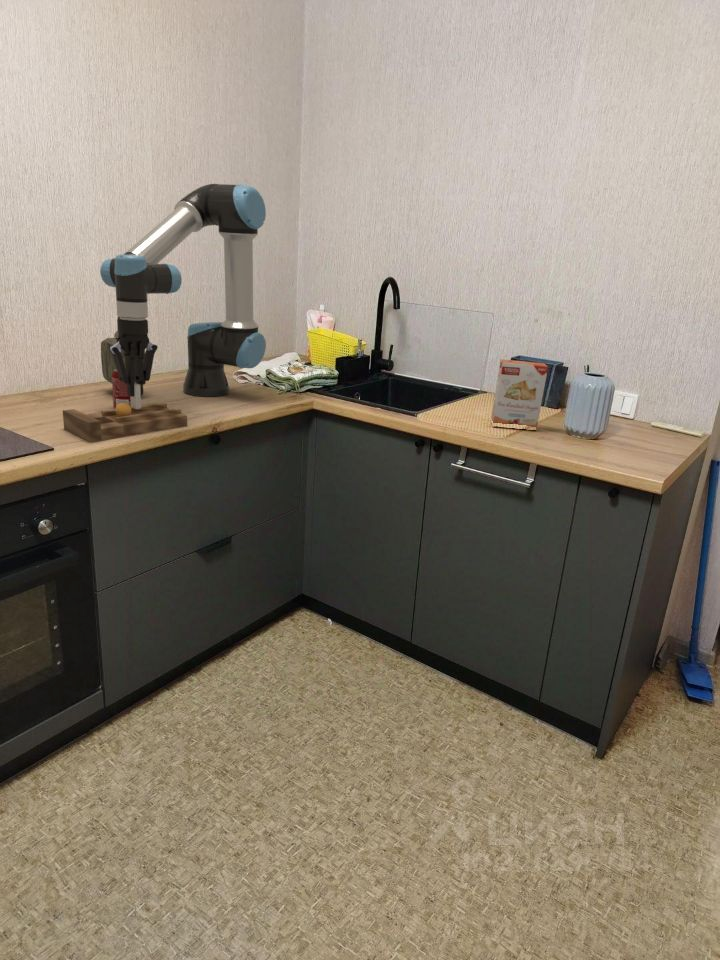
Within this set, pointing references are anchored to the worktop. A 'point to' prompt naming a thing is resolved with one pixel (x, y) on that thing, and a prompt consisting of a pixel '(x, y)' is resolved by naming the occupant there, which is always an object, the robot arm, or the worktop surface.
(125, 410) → the ball
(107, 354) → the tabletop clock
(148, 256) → the robot arm
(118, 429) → the board
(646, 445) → the worktop surface
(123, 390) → the soda can
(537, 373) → the cracker box
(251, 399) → the worktop surface
